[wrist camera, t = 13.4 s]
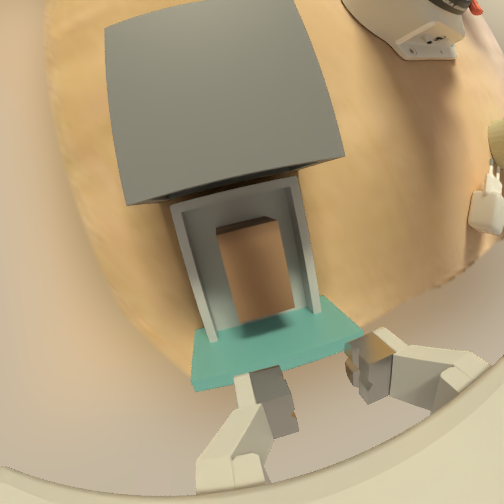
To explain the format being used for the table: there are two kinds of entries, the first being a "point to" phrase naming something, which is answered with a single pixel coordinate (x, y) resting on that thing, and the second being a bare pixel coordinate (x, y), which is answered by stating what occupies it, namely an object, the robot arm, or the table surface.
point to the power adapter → (488, 205)
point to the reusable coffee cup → (497, 141)
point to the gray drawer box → (215, 97)
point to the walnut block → (255, 267)
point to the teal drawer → (221, 301)
